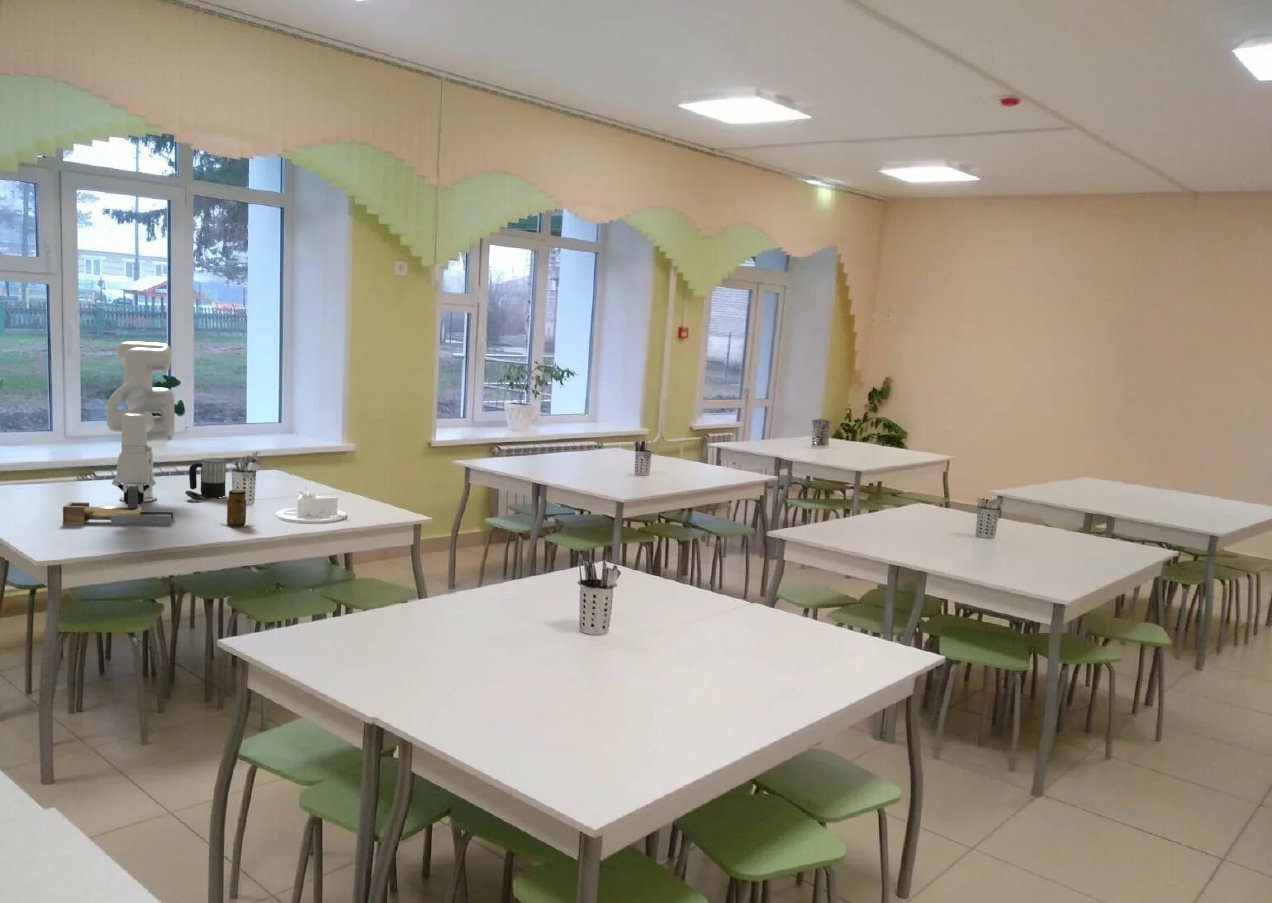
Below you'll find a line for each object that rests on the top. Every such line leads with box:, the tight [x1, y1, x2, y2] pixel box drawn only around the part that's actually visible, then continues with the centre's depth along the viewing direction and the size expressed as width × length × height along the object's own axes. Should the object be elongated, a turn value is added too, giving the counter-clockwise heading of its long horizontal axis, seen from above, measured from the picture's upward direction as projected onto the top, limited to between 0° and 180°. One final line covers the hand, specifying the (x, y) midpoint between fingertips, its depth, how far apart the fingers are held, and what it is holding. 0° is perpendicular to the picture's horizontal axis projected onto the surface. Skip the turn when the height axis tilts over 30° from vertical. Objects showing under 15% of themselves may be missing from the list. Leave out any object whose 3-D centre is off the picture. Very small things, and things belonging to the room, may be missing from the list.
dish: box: [274, 484, 347, 524], centre depth 354 cm, size 25×25×11 cm
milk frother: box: [184, 457, 228, 502], centre depth 371 cm, size 14×16×15 cm
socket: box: [62, 501, 90, 526], centre depth 319 cm, size 8×6×6 cm
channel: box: [110, 510, 175, 526], centre depth 325 cm, size 8×18×3 cm, turn 108°
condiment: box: [221, 489, 255, 529], centre depth 331 cm, size 7×8×12 cm
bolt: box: [85, 486, 142, 521], centre depth 321 cm, size 4×20×11 cm, turn 108°
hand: (133, 503), depth 324 cm, fingers closed on bolt, 3 cm apart
